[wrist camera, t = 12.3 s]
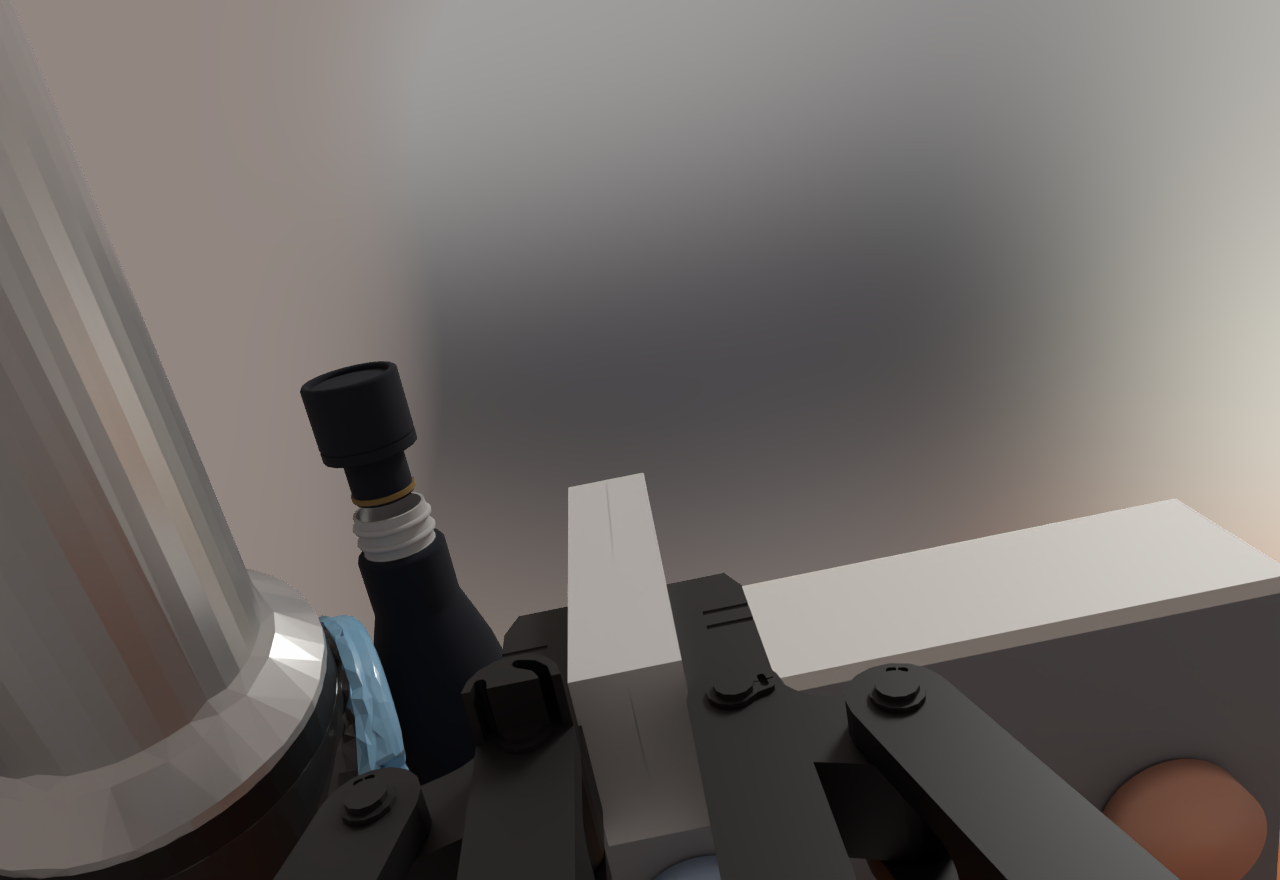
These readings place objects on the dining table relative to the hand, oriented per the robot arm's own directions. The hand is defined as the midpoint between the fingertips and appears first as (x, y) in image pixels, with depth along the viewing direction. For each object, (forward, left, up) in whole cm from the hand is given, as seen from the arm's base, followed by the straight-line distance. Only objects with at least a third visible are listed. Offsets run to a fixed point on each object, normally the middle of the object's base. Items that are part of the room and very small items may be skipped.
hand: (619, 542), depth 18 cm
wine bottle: (-22, +1, -30) cm, 37 cm away
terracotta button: (+1, +18, -20) cm, 27 cm away
